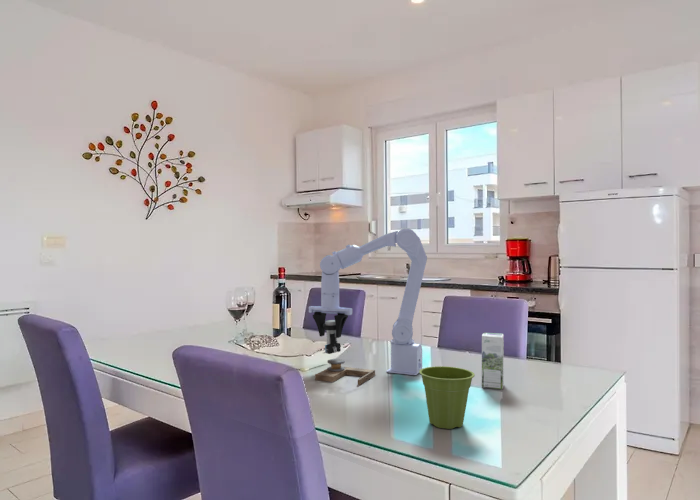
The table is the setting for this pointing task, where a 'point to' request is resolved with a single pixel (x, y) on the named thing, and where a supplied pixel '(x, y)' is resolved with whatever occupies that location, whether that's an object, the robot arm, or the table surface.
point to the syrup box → (492, 360)
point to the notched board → (343, 372)
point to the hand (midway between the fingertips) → (330, 336)
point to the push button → (331, 337)
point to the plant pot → (446, 394)
